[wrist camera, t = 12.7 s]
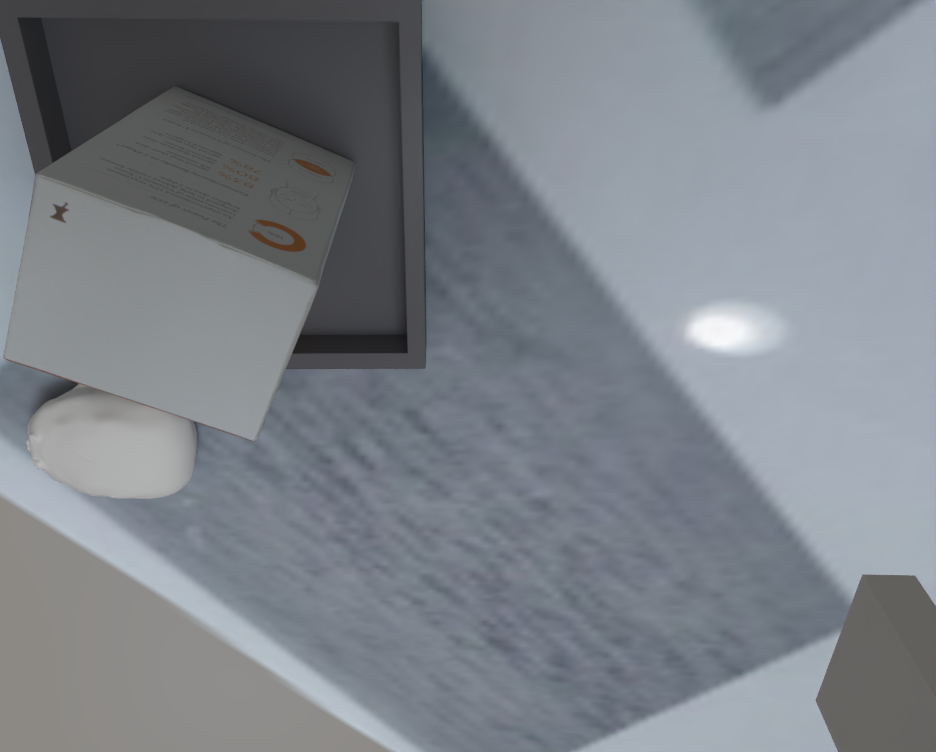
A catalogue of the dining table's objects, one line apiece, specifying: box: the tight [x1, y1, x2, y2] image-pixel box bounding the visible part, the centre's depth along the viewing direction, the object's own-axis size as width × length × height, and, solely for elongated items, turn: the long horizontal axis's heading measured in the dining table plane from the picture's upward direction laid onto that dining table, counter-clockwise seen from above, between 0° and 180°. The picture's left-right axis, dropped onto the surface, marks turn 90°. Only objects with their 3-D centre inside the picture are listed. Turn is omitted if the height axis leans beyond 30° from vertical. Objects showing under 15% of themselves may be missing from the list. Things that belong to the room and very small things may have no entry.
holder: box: [0, 0, 426, 369], centre depth 34 cm, size 16×16×2 cm
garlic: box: [26, 383, 197, 499], centre depth 40 cm, size 8×7×4 cm
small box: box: [3, 86, 355, 441], centre depth 29 cm, size 8×6×13 cm
